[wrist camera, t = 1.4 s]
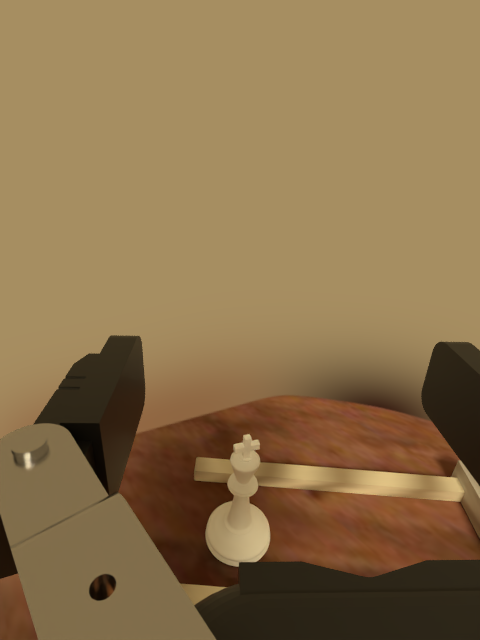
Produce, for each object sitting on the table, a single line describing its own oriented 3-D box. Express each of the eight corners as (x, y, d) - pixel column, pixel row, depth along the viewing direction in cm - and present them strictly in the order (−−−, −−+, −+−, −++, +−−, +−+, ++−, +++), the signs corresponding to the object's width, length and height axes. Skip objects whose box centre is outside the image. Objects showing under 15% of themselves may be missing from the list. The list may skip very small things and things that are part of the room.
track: (167, 633, 24) (166, 611, 23) (197, 460, 36) (198, 439, 35) (576, 666, 24) (597, 646, 23) (471, 481, 36) (480, 462, 35)
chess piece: (199, 513, 31) (201, 417, 27) (257, 499, 33) (269, 406, 28) (214, 575, 27) (220, 475, 23) (280, 556, 29) (298, 458, 24)
